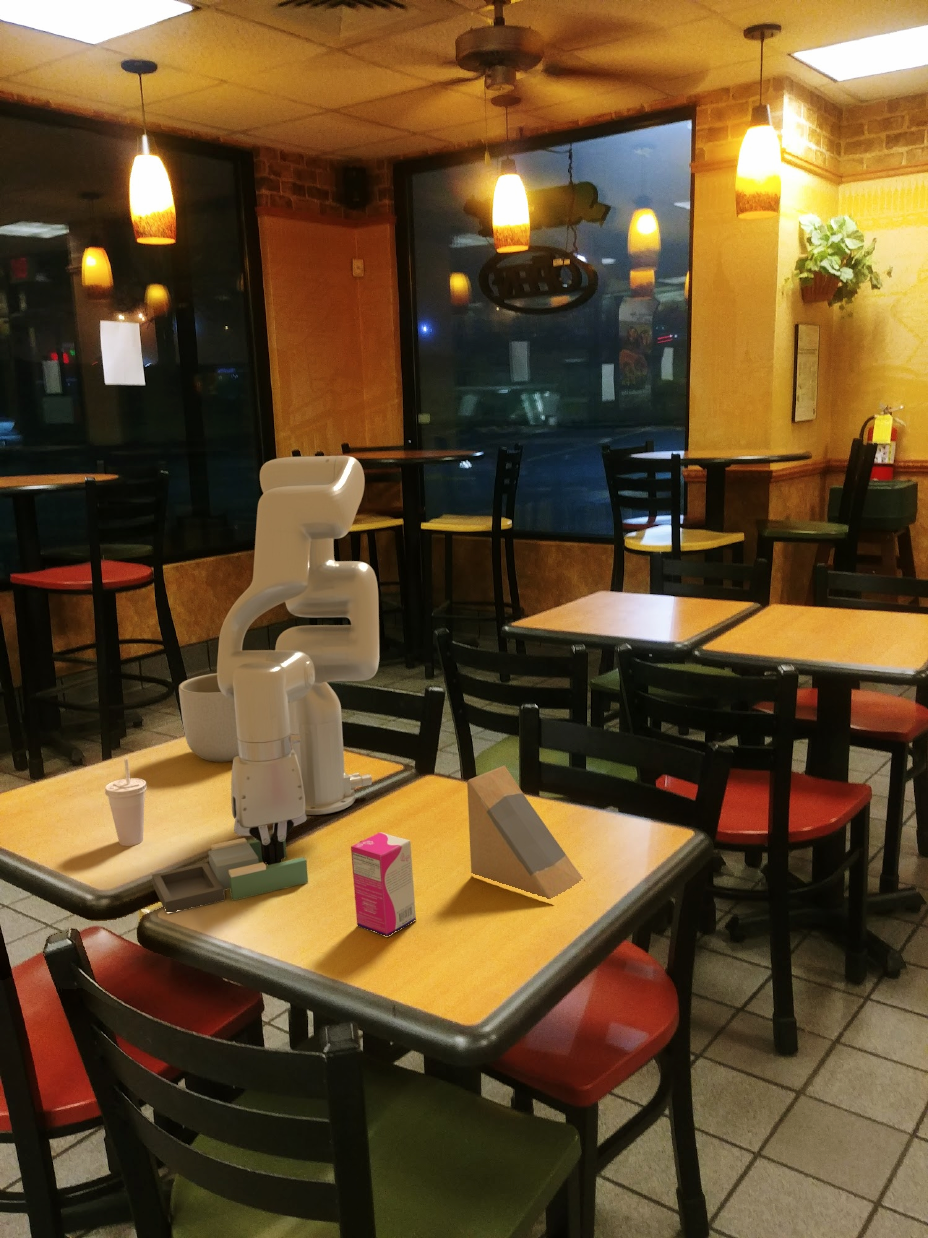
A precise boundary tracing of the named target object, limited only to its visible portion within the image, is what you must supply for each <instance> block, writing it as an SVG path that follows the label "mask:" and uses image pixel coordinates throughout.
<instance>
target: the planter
mask: <svg viewBox="0 0 928 1238" xmlns="http://www.w3.org/2000/svg"><path fill="white" fill-rule="evenodd" d="M178 693H179V694H178V695H179V703H180V709H181V719H182V725H183V731H184V737H185V741H186V744H187V746H188V747H189V749H190V750H191V752H192V753H194V754H195V755H196V756H198V757H199V758H201V759H203V760H205V761H208V762H219V763H220V762H222V763H223V762H225V763H226V762H233V759H234V758H235V757H237V756H239V751H238V737H237V726H236V714H235V701H234V700H233V699H229V698H227V697H226V696H224V695H223V694H222V692H221V690H220V688H219V685H218V680H217V672H216V673H209V674H204V675H199V676H195V677H192V678H189V679H187V680H184V681H182V682H181V683H180V684H179V685H178Z"/></svg>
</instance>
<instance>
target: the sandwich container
mask: <svg viewBox="0 0 928 1238" xmlns="http://www.w3.org/2000/svg"><path fill="white" fill-rule="evenodd" d="M466 784H467V787H466V788H467V807H468V831H469V832H468V833H469V851H470V870H471V871H470V873H473V874H475V875H479V876H482V877H484V878H488V879H491V880H493V881H497V882H499V883H502V884H506V885H509V886H512V887H515V888H518V889H521V890H524V891H526V892H530V893H532V894H537V895H538V896H542V897H546V898H547V899H551V898H553V897H555V896H558V894H561V893H562V892H565V891H566V890H567V889H570V888H572V886H574V885H575V884H577V883H579V881H581V879H583V878H584V877H583V876H582V874H581V873H580V872H579V870H578V869H577V868H576V866H575V865H574V864H573V862H572V861H571V860H570V858H569V857H568V855H567V854H566V852H565V851H564V850H563V848H562V847H561V846H560V844H559V843H558V841H557V840H556V838H555V837H554V835H553V834H552V833H551V832H550V829H548V827H547V825H546V823H544V821H543V820H542V818H541V817H540V815H539V814H538V813H537V811H536V810H535V809H534V807H533V806H532V804H531V802H530V801H529V800H528V799H527V797H526V795H525V794H524V793H523V791H522V790H521V788H520V787H519V785H518V784H517V782H516V780H515V778H514V777H513V776H512V774H511V773H510V771H509V770H508V769H507V766H506V765H503V766H499V767H497V768H494V769H491V770H490V771H486V772H484V773H482V774H479V775H477V776H475V777H473V778H470V779H468V780H467V783H466Z"/></svg>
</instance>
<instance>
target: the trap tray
mask: <svg viewBox="0 0 928 1238" xmlns="http://www.w3.org/2000/svg"><path fill="white" fill-rule="evenodd" d="M151 877H152V887H153V889H154V891H155V893H156V896H157V897H158V899H159V901H160V904H161V905H162V907H163V908H164V907H165V909H166V911H165V913H166V912H174V913H177V912H176V911H177V910H182V911H185V910H184V909H187V910H190V909H189V908H191V907H195V908H199V907H201V906H200V905H203V906H207V905H211V904H216V903H219V902H223V901H225V900H226V898H225V890H224V888H223V886H222V885H221V883H220V882H219V880H218V879H217V877H216V876H215V874H214V872H213V871H212V869H211V868H210V864H209V863H208V862H203V863H199V864H194V865H190V866H185V867H181V868H176V869H173V870H172V869H171V870H168V871H163V872H158V873H155V874H151ZM198 906H199V907H198ZM165 909H164V910H165ZM191 909H192V908H191Z"/></svg>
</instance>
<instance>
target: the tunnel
mask: <svg viewBox="0 0 928 1238" xmlns="http://www.w3.org/2000/svg"><path fill="white" fill-rule="evenodd" d="M271 836H272V835H269V837H270V838H271ZM286 839H287V838H286ZM286 839H285V840H284V841H283V845H284V859H286V858H288V857H287V856H288V855H287V840H286ZM247 843H249V844H250V846H251V848H252V849H253V851H254V852H255V854H256V855H257V857H258V861H259V863H258V864H253V865H249V866H244V867H240V868H236V869H231V870H229V880H230V889H229V890H230V898H231V900H232V901H238V900H241V899H246V898H250V897H254V896H258V895H262V894H267V893H271V892H275V891H278V890H279V891H280V890H284V889H287V888H291V887H295V886H299V885H303V884H308V883H309V877H308V863H307V862H308V861H307V859H306V858H305V857H304V856H302V857H298V858H293V859H289V860H286V861H281V862H280V863H276V864H271V865H267V864H266V863H263V861H262V853H261V842H260V841H259V840H257V839H256V838H254V839H252V840H247V839H246V838H245V837H243V838H242V837H241V838H237V839H233V840H229V841H223V842H219V843H215V844H214V843H213V844H211V845H210V846H211V851H212V850H217V849H222V848H227V847H232V846H237V845H242V844H247Z"/></svg>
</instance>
